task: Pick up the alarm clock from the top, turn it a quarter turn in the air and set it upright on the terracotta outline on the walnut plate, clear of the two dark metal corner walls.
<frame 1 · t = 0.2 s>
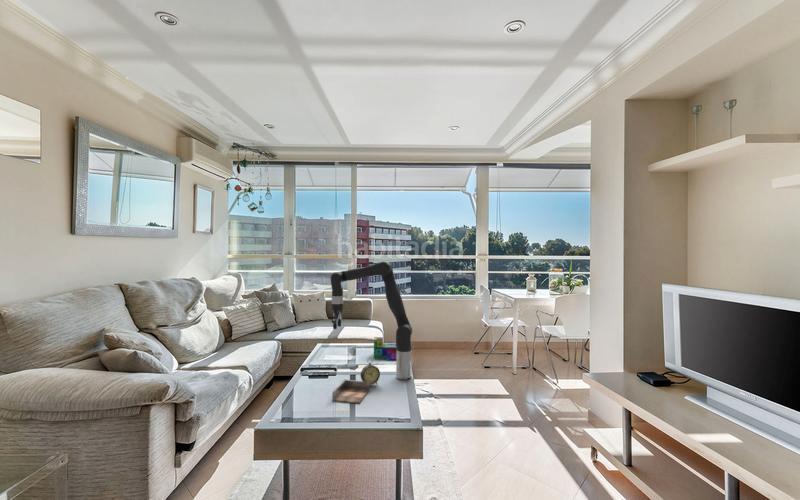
hand: (337, 327, 249), 29 cm above the table, tool pointing down, fingers open, 8 cm apart
corner walls: (351, 390, 210), on the walnut plate, point 3 cm above the table
alarm clock: (369, 385, 227), on the table
block puzzle: (390, 357, 284), on the table
walnut plate: (351, 395, 210), on the table
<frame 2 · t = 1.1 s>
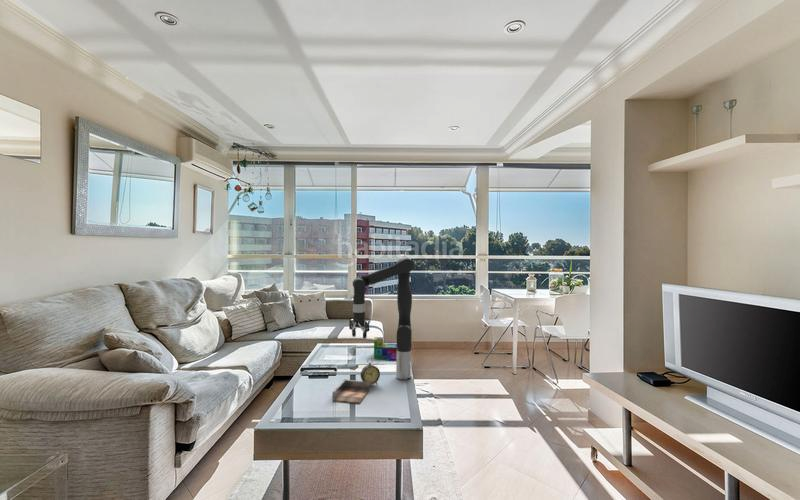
hand: (359, 337, 234), 26 cm above the table, tool pointing down, fingers open, 8 cm apart
nothing on the table moved.
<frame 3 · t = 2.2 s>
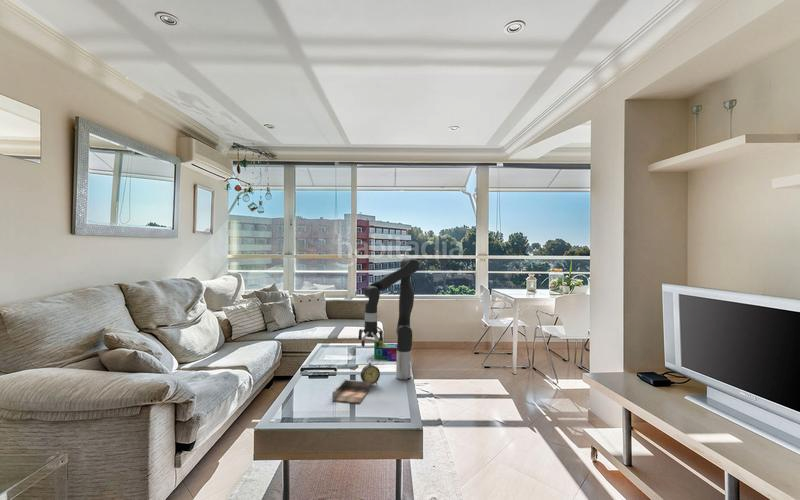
hand: (370, 347, 226), 23 cm above the table, tool pointing down, fingers open, 8 cm apart
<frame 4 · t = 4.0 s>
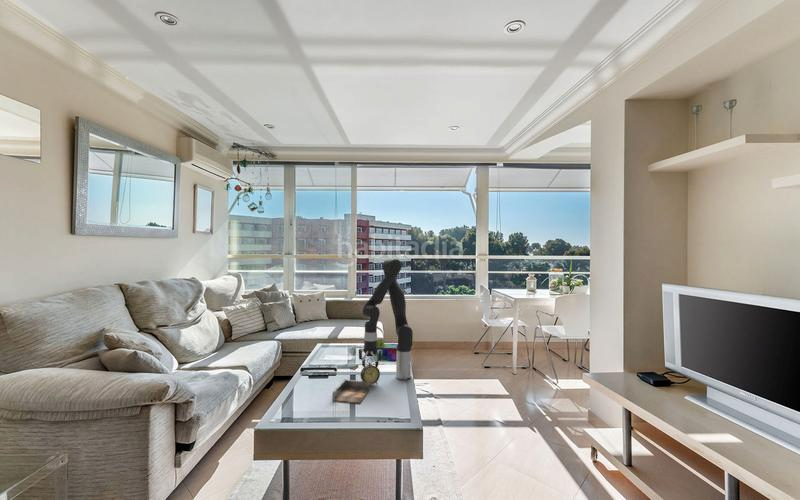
hand: (370, 366, 226), 11 cm above the table, tool pointing down, fingers closed on alarm clock, 7 cm apart
alarm clock: (369, 385, 227), on the table, touching gripper
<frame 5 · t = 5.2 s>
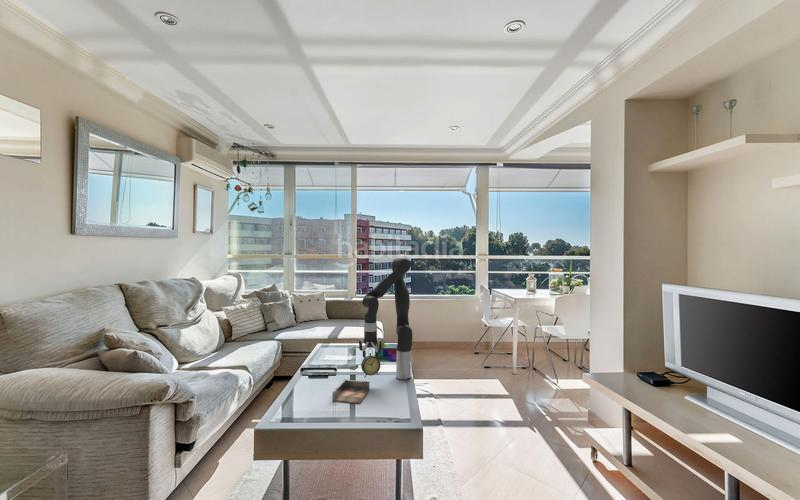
hand: (370, 357, 226), 16 cm above the table, tool pointing down, fingers closed on alarm clock, 7 cm apart
alarm clock: (370, 376, 226), point 5 cm above the table, touching gripper
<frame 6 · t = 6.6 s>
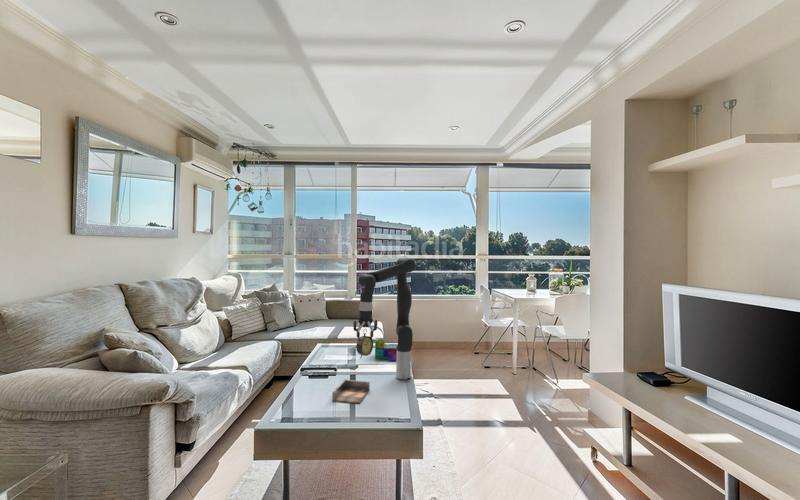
hand: (364, 337, 221), 29 cm above the table, tool pointing down, fingers closed on alarm clock, 7 cm apart
alarm clock: (363, 357, 221), point 18 cm above the table, touching gripper
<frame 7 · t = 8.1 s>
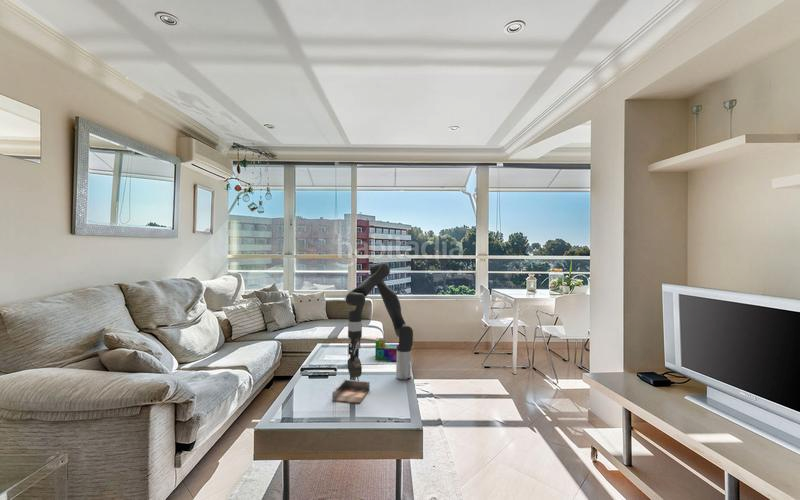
hand: (354, 359, 210), 20 cm above the table, tool pointing down, fingers closed on alarm clock, 7 cm apart
alarm clock: (353, 379, 210), point 9 cm above the table, touching gripper
when the fingers open (13 cm above the table, at t = 10.5 s): alarm clock drops 1 cm, resting on walnut plate.
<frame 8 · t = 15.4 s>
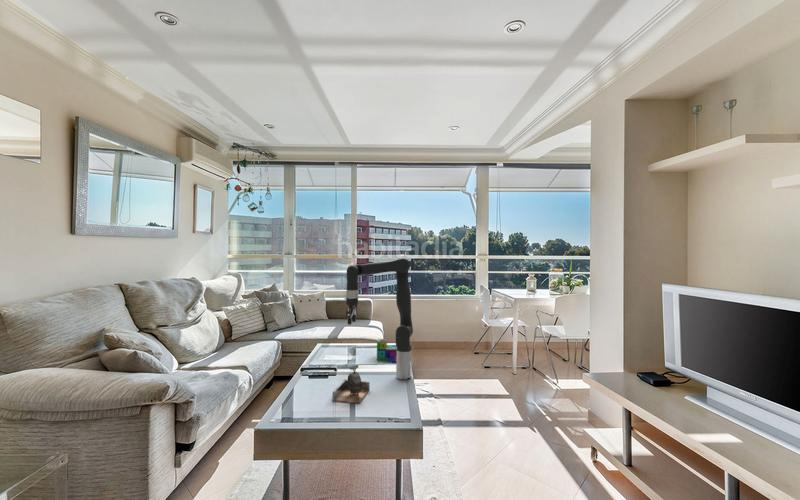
hand: (351, 323, 239), 34 cm above the table, tool pointing down, fingers open, 8 cm apart
alarm clock: (353, 395, 209), point 1 cm above the table, touching walnut plate
block puzzle: (394, 360, 279), on the table
at the end: alarm clock 0.2 cm from the target spot, point 0.7 cm above the table; alarm clock tilted 0°; alarm clock touching walnut plate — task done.
